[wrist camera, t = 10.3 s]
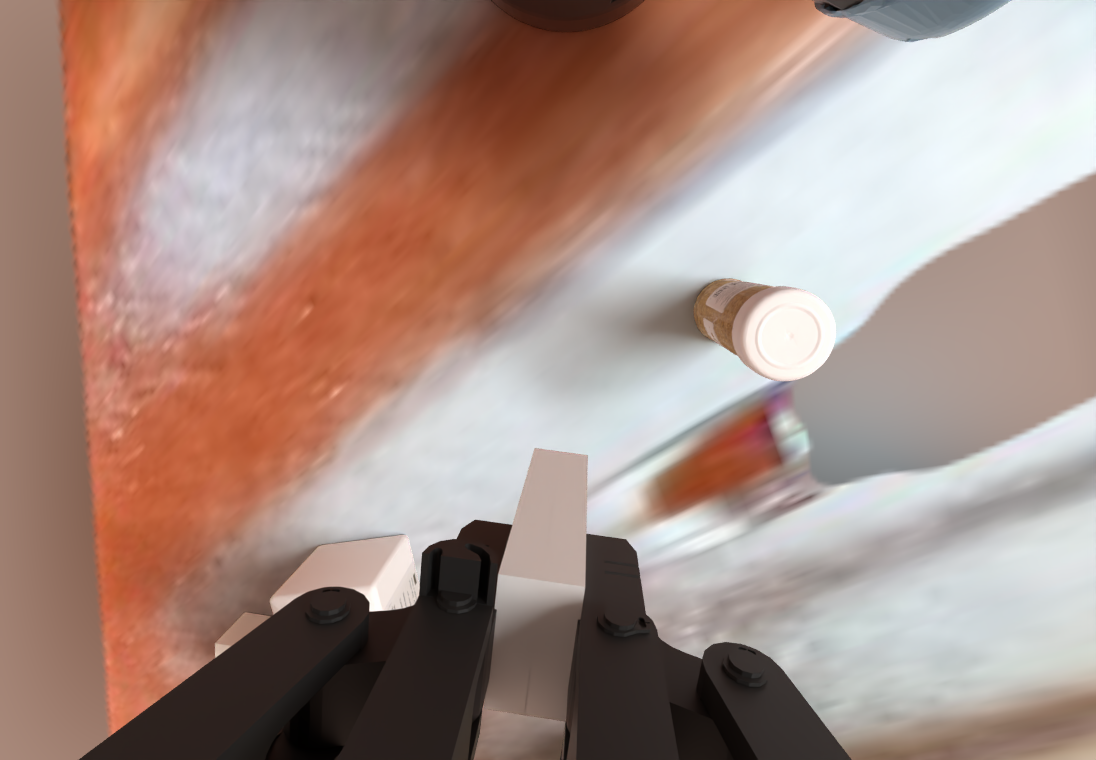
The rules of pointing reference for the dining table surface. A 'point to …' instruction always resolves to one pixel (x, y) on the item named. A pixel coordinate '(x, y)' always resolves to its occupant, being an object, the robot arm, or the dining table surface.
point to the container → (358, 573)
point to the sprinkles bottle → (767, 326)
